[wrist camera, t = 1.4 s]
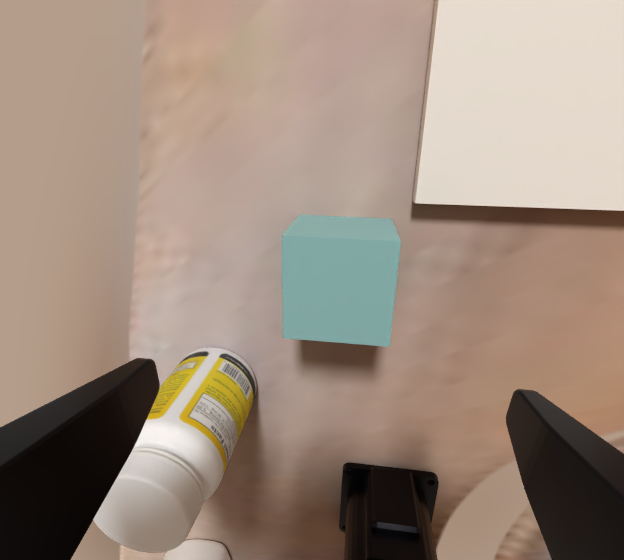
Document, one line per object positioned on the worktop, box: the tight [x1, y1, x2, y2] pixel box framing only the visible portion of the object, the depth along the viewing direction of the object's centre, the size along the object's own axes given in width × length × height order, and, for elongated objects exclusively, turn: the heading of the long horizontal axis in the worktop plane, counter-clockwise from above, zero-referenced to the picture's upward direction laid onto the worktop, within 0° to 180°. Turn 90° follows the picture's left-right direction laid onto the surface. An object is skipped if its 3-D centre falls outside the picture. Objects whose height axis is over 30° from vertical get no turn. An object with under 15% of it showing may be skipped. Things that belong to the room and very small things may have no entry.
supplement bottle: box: [93, 347, 257, 553], centre depth 20 cm, size 6×6×10 cm
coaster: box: [412, 0, 624, 211], centre depth 16 cm, size 11×11×1 cm
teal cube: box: [282, 215, 401, 347], centre depth 18 cm, size 5×5×5 cm
